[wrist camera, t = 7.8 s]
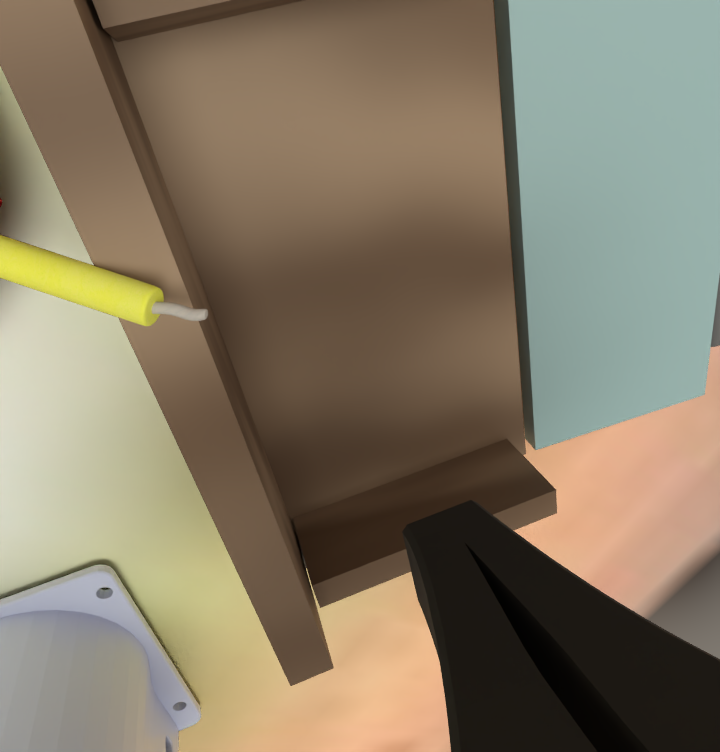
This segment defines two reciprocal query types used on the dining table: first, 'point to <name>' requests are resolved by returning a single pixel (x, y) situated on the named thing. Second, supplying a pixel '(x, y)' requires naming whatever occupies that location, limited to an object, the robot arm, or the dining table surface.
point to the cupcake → (87, 284)
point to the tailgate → (611, 204)
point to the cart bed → (301, 264)
